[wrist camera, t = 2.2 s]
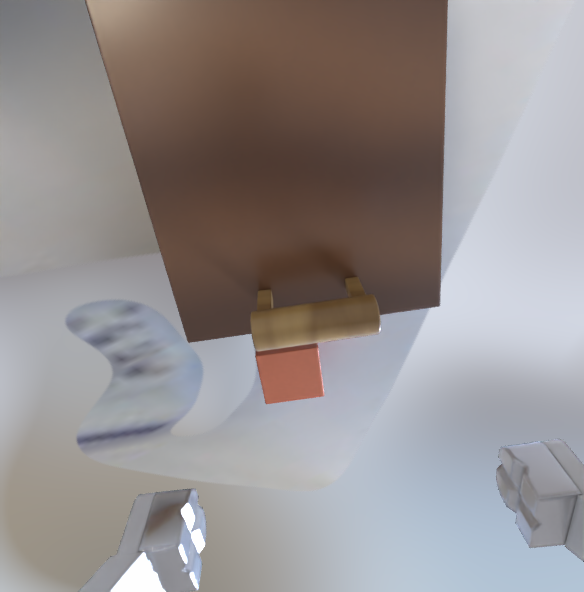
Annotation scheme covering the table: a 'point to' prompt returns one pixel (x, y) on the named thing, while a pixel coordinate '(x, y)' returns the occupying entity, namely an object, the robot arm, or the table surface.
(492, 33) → the table surface
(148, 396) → the table surface
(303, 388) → the block
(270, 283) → the lid
